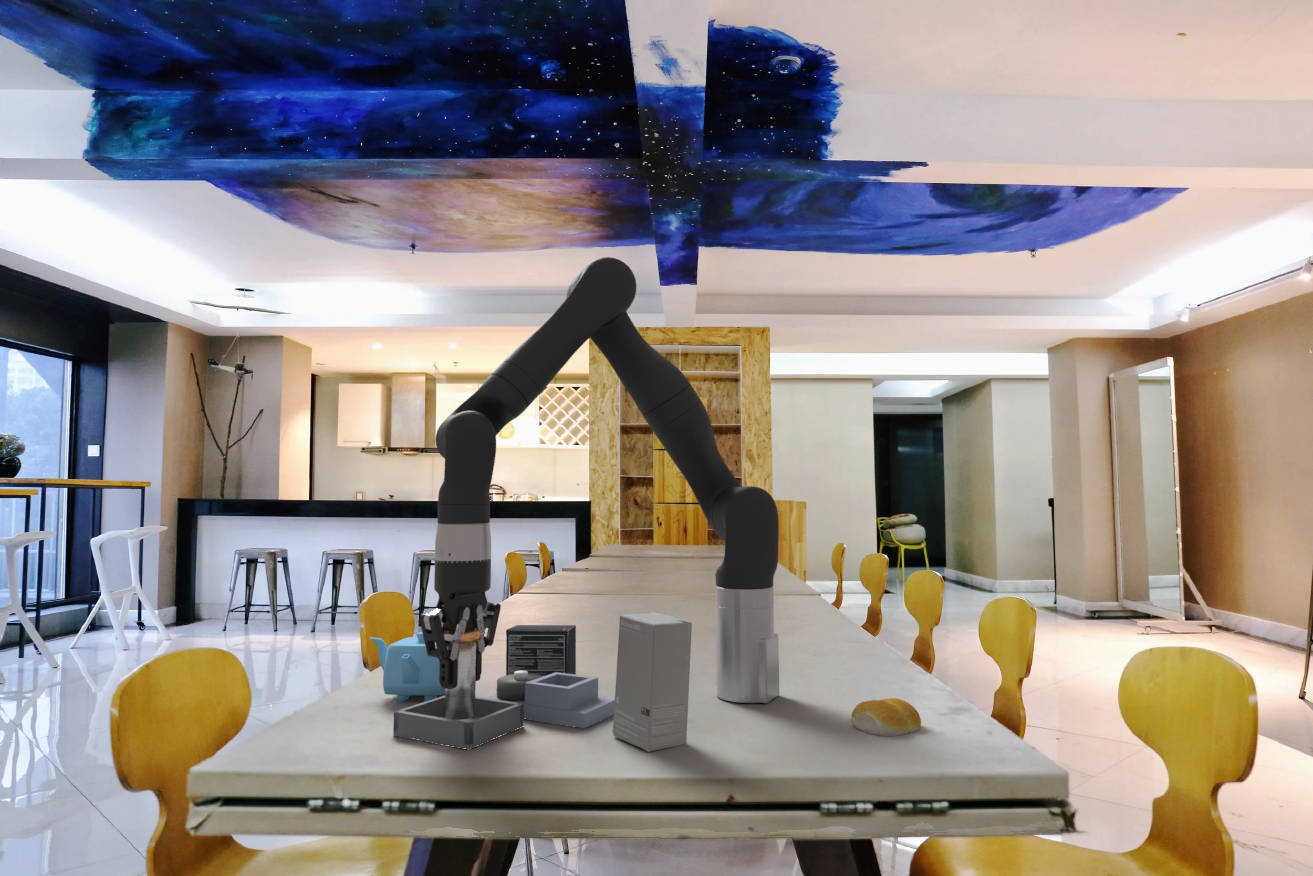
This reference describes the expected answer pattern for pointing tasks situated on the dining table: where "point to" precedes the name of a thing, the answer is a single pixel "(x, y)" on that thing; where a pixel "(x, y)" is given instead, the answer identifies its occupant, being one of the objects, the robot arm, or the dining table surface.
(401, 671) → the teapot
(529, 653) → the small box
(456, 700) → the copper capped glass jar
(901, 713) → the bread roll
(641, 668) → the skincare box
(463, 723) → the tray
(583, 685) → the block
